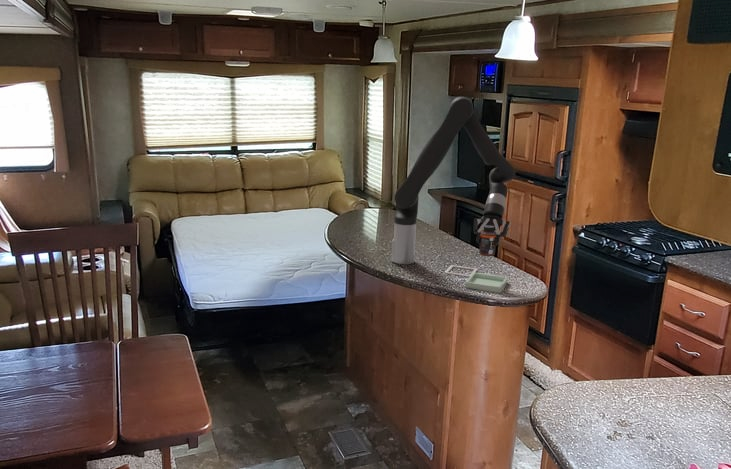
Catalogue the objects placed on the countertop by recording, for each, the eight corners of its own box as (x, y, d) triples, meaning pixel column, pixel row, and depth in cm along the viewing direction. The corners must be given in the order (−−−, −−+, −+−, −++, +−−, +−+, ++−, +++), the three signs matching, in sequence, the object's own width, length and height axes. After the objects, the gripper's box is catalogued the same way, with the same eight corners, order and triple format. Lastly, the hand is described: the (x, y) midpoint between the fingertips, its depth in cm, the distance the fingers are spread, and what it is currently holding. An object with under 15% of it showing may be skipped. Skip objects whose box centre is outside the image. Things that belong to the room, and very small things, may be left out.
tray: (464, 287, 217) (465, 282, 217) (473, 277, 229) (473, 272, 229) (500, 293, 212) (501, 287, 211) (507, 282, 224) (507, 277, 224)
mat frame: (443, 273, 233) (444, 272, 233) (451, 266, 243) (451, 264, 243) (471, 277, 229) (471, 276, 229) (477, 269, 239) (477, 268, 239)
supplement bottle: (495, 257, 217) (497, 228, 214) (479, 256, 218) (481, 227, 215) (494, 253, 223) (496, 224, 220) (479, 252, 224) (480, 224, 221)
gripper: (475, 200, 225) (467, 236, 217) (513, 203, 220) (505, 240, 212) (477, 211, 231) (469, 246, 223) (514, 214, 226) (506, 251, 218)
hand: (487, 243), depth 218 cm, fingers closed on supplement bottle, 6 cm apart
